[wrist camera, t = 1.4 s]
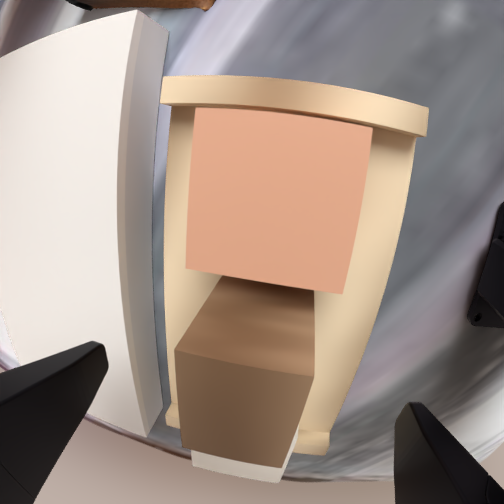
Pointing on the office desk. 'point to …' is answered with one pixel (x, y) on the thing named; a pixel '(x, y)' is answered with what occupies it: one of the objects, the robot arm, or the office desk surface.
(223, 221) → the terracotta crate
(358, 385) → the office desk surface
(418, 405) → the robot arm
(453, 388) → the office desk surface
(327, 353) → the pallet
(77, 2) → the sunglasses case
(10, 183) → the white flat block
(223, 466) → the cream crate
